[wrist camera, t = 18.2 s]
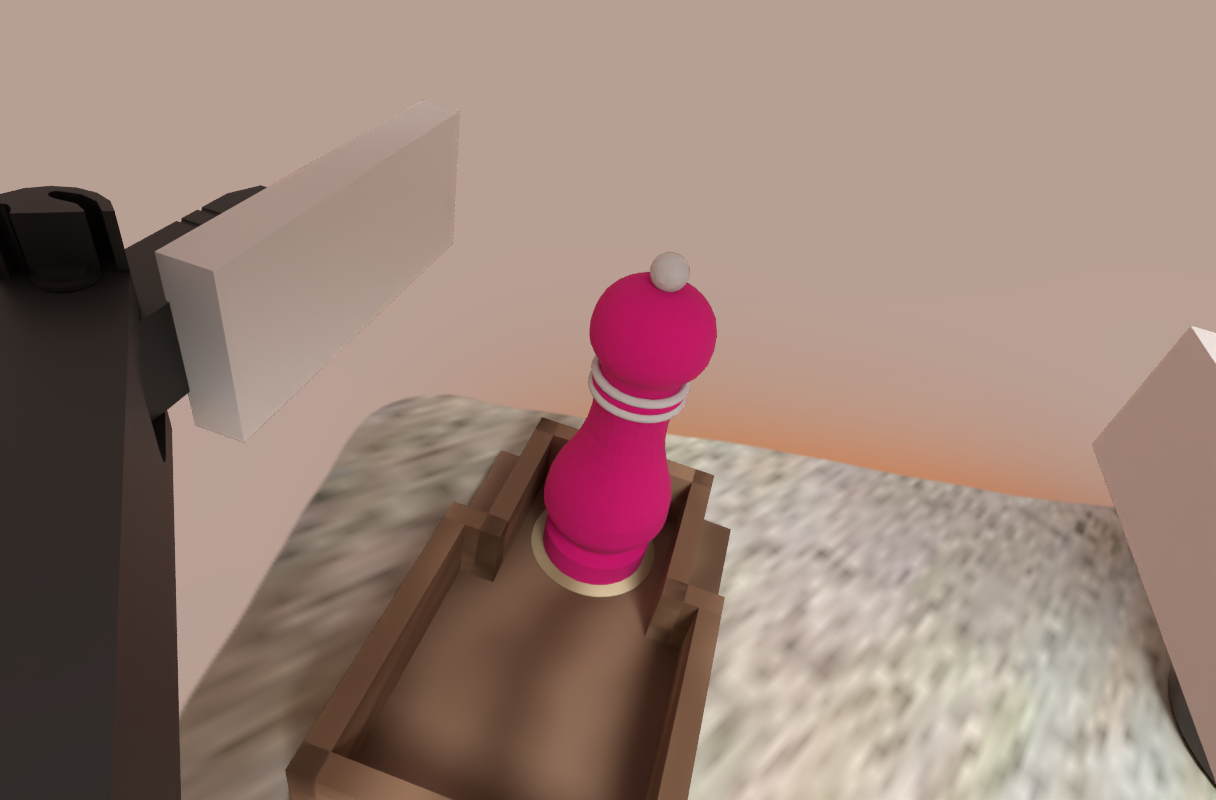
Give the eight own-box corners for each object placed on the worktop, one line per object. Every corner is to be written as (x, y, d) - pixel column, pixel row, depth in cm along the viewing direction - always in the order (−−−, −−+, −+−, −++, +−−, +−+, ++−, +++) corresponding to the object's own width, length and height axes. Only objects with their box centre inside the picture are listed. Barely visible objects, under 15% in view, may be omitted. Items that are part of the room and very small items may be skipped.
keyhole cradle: (726, 539, 49) (749, 487, 46) (642, 962, 30) (672, 924, 27) (500, 461, 50) (508, 405, 47) (288, 818, 32) (278, 767, 29)
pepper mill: (610, 485, 49) (687, 208, 36) (674, 567, 45) (787, 285, 32) (513, 520, 45) (562, 224, 33) (574, 612, 41) (657, 313, 28)
